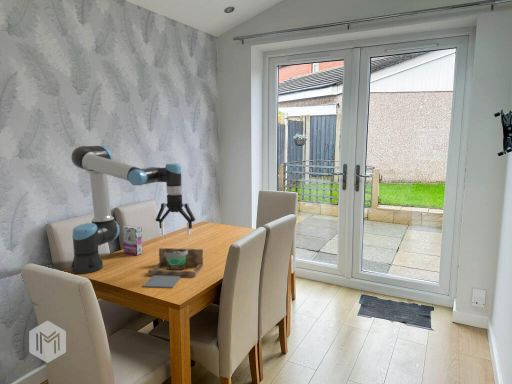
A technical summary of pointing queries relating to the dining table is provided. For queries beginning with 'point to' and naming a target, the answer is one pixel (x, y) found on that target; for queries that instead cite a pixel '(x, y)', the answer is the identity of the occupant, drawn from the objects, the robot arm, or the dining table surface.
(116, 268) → the dining table surface
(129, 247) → the candy bar box
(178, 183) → the robot arm
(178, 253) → the food container
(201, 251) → the wooden frame
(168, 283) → the mat
